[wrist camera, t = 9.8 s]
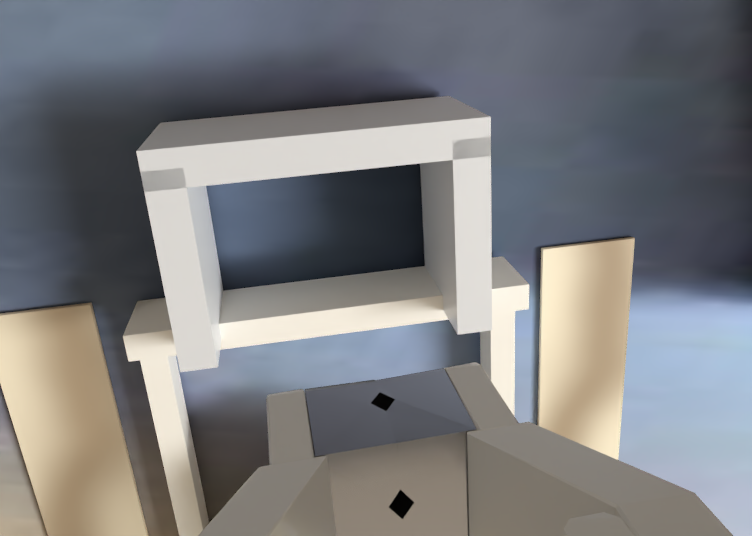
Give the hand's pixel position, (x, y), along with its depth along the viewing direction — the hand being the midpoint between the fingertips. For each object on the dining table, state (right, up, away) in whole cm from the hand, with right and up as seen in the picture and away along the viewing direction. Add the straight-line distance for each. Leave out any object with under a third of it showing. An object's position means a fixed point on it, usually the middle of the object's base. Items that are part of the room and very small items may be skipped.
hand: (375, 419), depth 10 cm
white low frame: (-2, -2, +19) cm, 19 cm away
